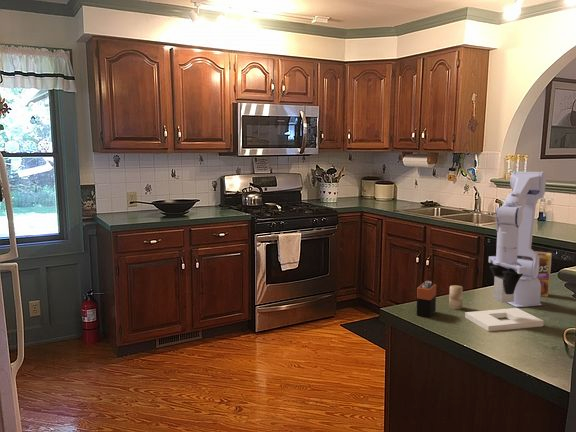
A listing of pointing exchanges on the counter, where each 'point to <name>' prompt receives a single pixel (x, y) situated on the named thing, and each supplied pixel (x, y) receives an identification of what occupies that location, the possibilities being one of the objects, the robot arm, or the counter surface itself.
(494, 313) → the bore board
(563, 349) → the counter surface
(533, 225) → the robot arm
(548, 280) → the candy box
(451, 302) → the round dowel
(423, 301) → the battery
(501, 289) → the square peg
